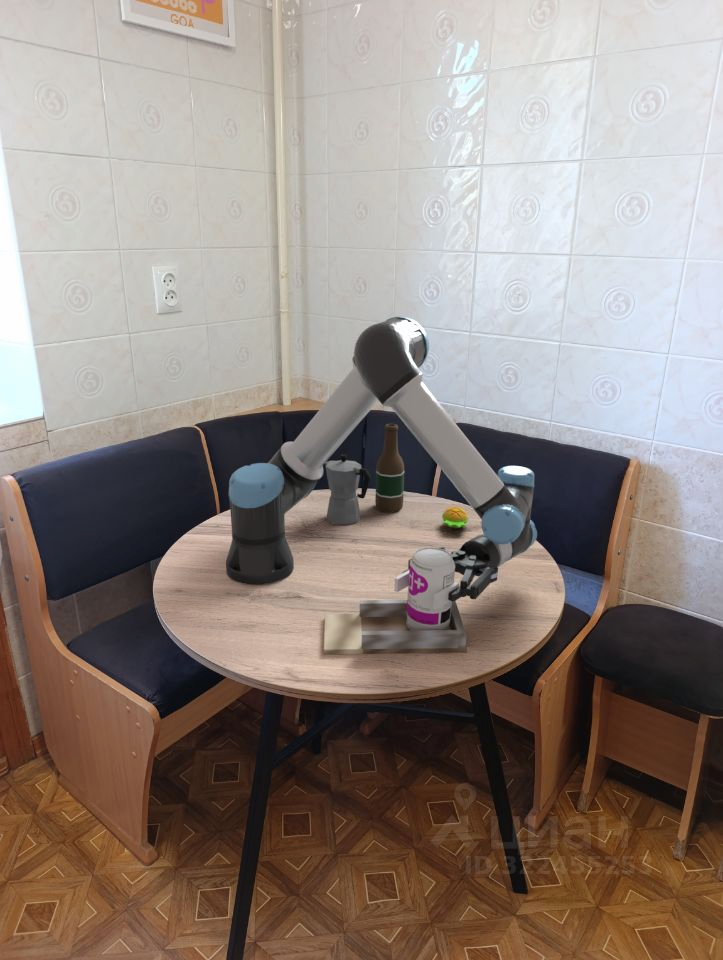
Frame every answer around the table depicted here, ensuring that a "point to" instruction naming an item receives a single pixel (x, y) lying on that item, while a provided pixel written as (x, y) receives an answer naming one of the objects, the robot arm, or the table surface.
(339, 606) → the table surface
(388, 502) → the beer bottle
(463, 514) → the pineapple toy
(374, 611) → the rectangular tray
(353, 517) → the coffeepot
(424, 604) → the supplement can
